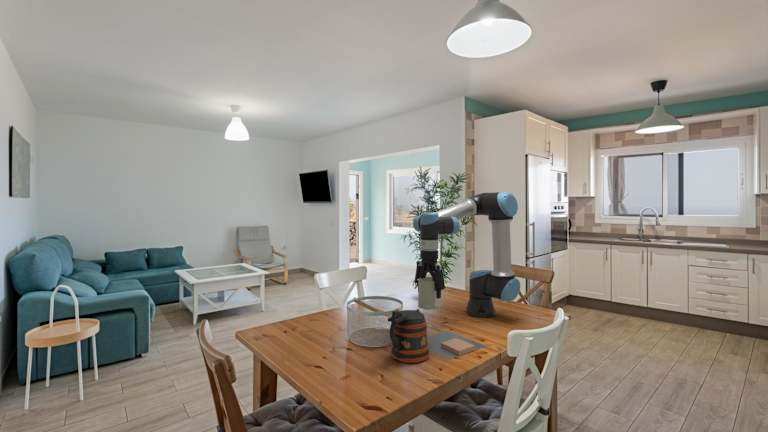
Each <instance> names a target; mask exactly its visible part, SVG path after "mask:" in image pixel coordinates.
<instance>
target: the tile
mask: <svg viewBox="0 0 768 432" xmlns="http://www.w3.org/2000/svg"><path fill="white" fill-rule="evenodd" d="M441 347H442V348H444V349H446V350H448V351H450V352H452V353H455V354H457V355H459V356H458V357H460V356H463V355H466V354H468V352H469V353H471V351H472V352H474V351H476V350H475V345H472V344H470V343H468V342H465V341H463V340H460V339H458V338H454V339H451V340H448V341H445V342H442V343H441ZM465 353H466V354H465Z"/></svg>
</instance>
